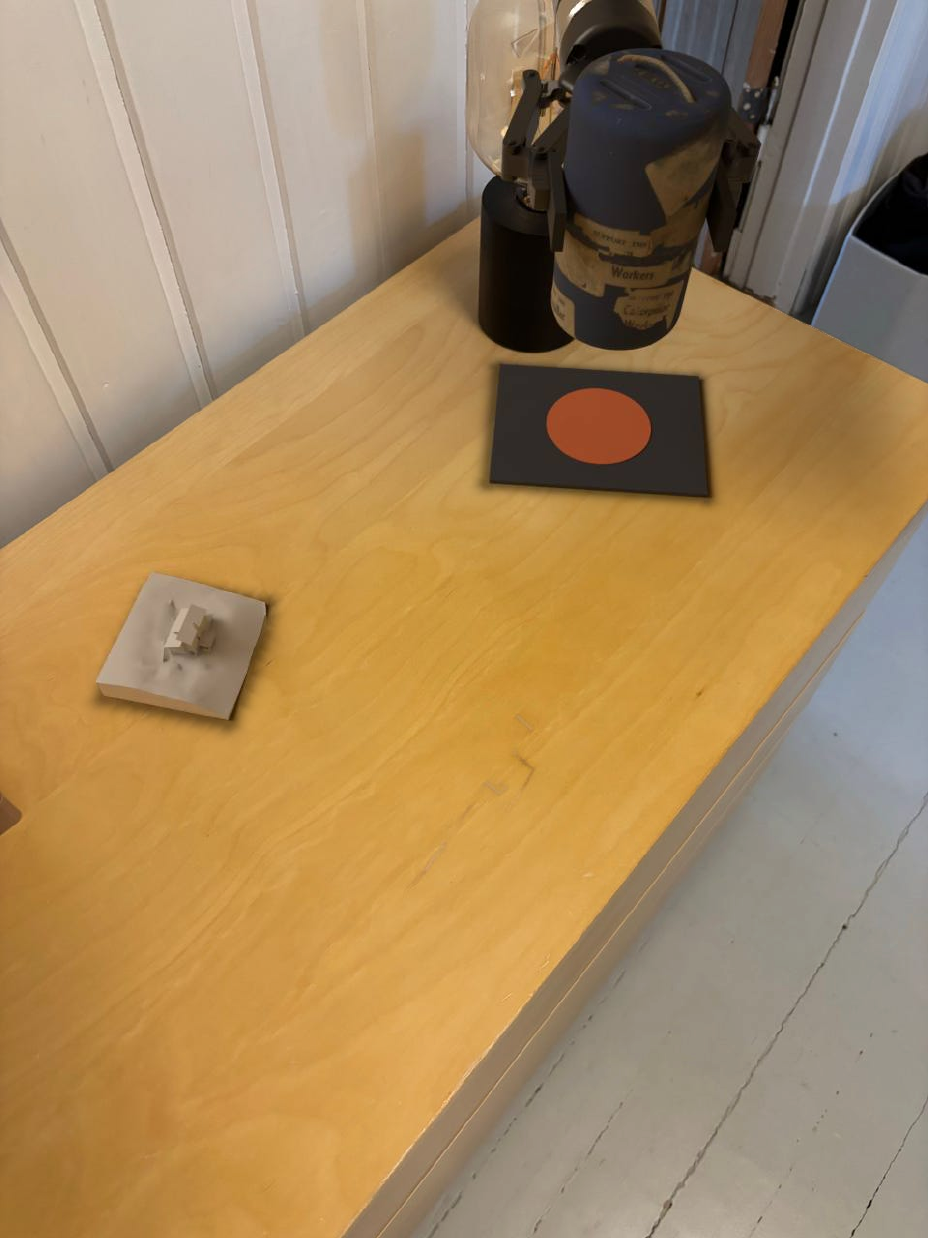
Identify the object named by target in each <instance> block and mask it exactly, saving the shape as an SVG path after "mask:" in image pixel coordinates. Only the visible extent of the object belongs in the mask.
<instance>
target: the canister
mask: <svg viewBox="0 0 928 1238" xmlns="http://www.w3.org/2000/svg"><path fill="white" fill-rule="evenodd" d="M731 107H733V102H732V92H731V89H730V86H729V84H728V82H727V80H726V79H725V77H724V76H723V74H722V73H721V72H720V71H718V70H717V69H716V68H715V67H713V66H711V64H708V63H707V62H706V61H703V60H701V59H699V58H697V57H694V56H692V55H690V54H686V53H683V52H679V51H676V50H675V51H674V50H670V49H665V48H664V49H655V48H637V49H628V50H622V51H618V52H614V53H610V54H607V55H605V56H602V57H600V58H598V59H596V60H595V61H593V62H592V63H590V64H589V65H588V66H587V67H586V68H585V69H584V70H583V71H582V72H581V74H580V75H579V77H578V78H577V80H576V83H575V85H574V88H573V93H572V99H571V107H570V121H569V131H568V140H567V149H566V155H565V159H564V162H563V164H562V171H563V180H564V189H565V198H566V207H567V219H566V228H565V237H564V246H563V252H554V260H553V273H552V274H553V275H552V286H551V292H550V305H551V306H550V307H551V310H552V313H553V316H554V318H555V320H556V322H557V324H558V326H559V327H560V328H562V330H563V331H564V332H566V333H567V334H568V335H569V336H571V337H572V338H573V339H575V340H577V341H579V342H580V343H583V344H585V345H586V346H589V347H592V348H596V349H601V350H605V351H615V352H616V351H617V352H618V351H620V352H621V351H622V352H623V351H624V352H625V351H635V350H639V349H642V348H643V349H644V348H647V347H650V346H652V345H654V344H656V343H658V342H660V341H661V340H662V339H663V338H665V337H666V336H667V335H668V334H669V333H671V332H672V330H673V329H674V327H675V326H676V324H677V323H678V321H679V318H680V316H681V313H682V309H683V305H684V302H685V298H686V293H687V290H688V284H689V281H690V277H691V274H692V271H693V265H694V263H695V257H696V253H697V250H698V245H699V242H700V241H699V240H700V237H701V233H702V230H703V227H704V225H705V223H706V214H707V210H708V206H709V201H710V197H711V193H712V189H713V186H714V182H715V177H716V173H717V169H718V164H719V160H720V156H721V152H722V148H723V144H724V140H725V136H726V132H727V128H728V123H729V119H730V114H731Z"/></svg>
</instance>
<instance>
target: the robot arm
mask: <svg viewBox="0 0 928 1238" xmlns="http://www.w3.org/2000/svg"><path fill="white" fill-rule="evenodd" d="M551 4H552V5H551V6H552V11H553V12H552V13H553V19H554V25H555V26H554V27H555V32H556V33H555V34H556V44H557V54H558V62H559V71H560V75H559V77H558V78H557V79H555V80H554V79H553V80H551V79H550V80H548V79H546V78H542V79H541V74H540V72H539V71H538V70H536V69H533V68H530V69H525V70H523V71H522V73H521V87H520V89H521V90H520V99H519V100H518V103H517V106H516V108H515V110H514V113H513V116H512V117H511V119H510V121H509V124H508V127H507V129H506V131H505V134H504V136H503V139H502V141H501V142H502V143H501V160H500V161H501V164H500V179H501V180H502V181H504V182H508V183H511V182H512V183H513V182H515V181H517V180H518V179H519V178H522V179H524V180H526V181H527V187H526V189H527V190H526V194H527V196H528V197H529V201H530V202H529V204H530V207H531V208H532V209H533V211H546V214H547V224H548V235H549V247H550V252H551V253H555V252H563V246H564V237H565V228H566V219H567V207H566V198H565V189H564V180H563V171H562V164H563V162H564V159H565V155H566V149H567V140H568V131H569V121H570V107H571V99H572V93H573V88H574V85H575V83H576V80H577V78H578V77H579V75H580V74H581V72H582V71H583V70H584V69H585V68H586V67H587V66H588V65H589V64H590V63H592V62H593V61H595V60H596V59H598V58H600V57H602V56H605V55H607V54H610V53H614V52H618V51H622V50H628V49H637V48H655V49H664V50H665V48H664V43H663V40H662V36H661V33H660V28H659V23H658V19H657V15H656V12H655V7H654V3H653V0H551ZM553 102H557V104H558V105H559V107H561V108H562V110H561V111H560V113H558V115H557V116H556V117H555V118H554V119H553V120H552V121H551V122H550V123H549V124H548V125H547V127H546V128H545V130H543V131H542V133H541V134H540V135H539V136H538V137H537V138H536V139H535V137H536V134H537V132H538V130H539V127H540V119H541V118H543V117H544V118H545V117H546V115H547V109H549V108H550V107H551V105H552V103H553ZM534 139H535V140H534ZM761 148H762V142H761V140H760V139H759V138H758V137H757V136H756V134H755V133H754V132H753V131H752V130H751V128H750V127H749V126H748V125H747V122H745V120H744V119H743V118H742V116H740V115H739V113H738V111H736V109H735V108H734V107H733V106H732V107H731V114H730V119H729V123H728V128H727V132H726V136H725V140H724V144H723V148H722V152H721V156H720V160H719V164H718V169H717V173H716V177H715V182H714V186H713V189H712V193H711V197H710V201H709V206H708V210H707V214H706V219H705V221H706V224H707V227H708V233H709V235H710V236H709V237H710V240H711V244H712V249H713V252H714V253H727V251H728V247H729V244H730V240H731V238H732V233H733V230H734V226H735V222H736V219H737V216H738V212H737V207H738V203H739V200H740V196H741V193H742V190H743V184H748V183H750V182H752V180H753V176H754V172H755V170H756V166H757V162H758V159H759V155H760V151H761Z"/></svg>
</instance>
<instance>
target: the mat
mask: <svg viewBox="0 0 928 1238" xmlns="http://www.w3.org/2000/svg"><path fill="white" fill-rule="evenodd" d="M498 368H499V369H498V377H497V378H498V380H497V392H496V401H495V411H494V424H493V435H492V447H491V458H490V469H489V479H488V480H489V482H488V483H489V484H501V485H515V486H530V487H545V488H558V489H559V488H561V489H573V490H574V489H576V490H587V491H589V490H590V491H605V492H617V493H619V492H621V493H633V494H634V493H635V494H649V495H661V496H662V495H663V496H665V495H666V496H676V497H677V496H679V497H691V498H693V497H695V498H708V496H709V491H708V480H707V479H708V478H707V465H706V464H707V463H706V453H705V440H704V439H705V438H704V427H703V426H704V425H703V415H702V413H703V412H702V401H701V389H700V387H701V386H700V376H699V375H686V374H669V373H668V374H667V373H653V372H637V371H622V370H621V371H620V370H606V369H588V368H576V367H575V368H574V367H559V366H558V367H555V366H541V365H538V366H537V365H527V364H526V365H524V364H511V363H509V364H508V363H499V365H498Z"/></svg>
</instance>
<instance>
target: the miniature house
mask: <svg viewBox="0 0 928 1238" xmlns="http://www.w3.org/2000/svg"><path fill="white" fill-rule="evenodd" d="M266 615H267V608H266V602H265V601H262V600H259V599H256V598H252V597H249V596H246V595H243V594H239V593H237V592H233V591H228V590H224V589H221V588H218V587H215V586H211V585H208V584H204V583H200V582H197V581H193V580H189V579H186V578H185V579H184V578H181V577H178V576H177V577H176V576H173V575H167V574H162V573H157V572H151V571H150V574H149V576H148V578H147V579H146V581H145V582H144V584H143V586H142V588H141V590H140V591H139V593H138V596H137V598H136V599H135V602H134V604H133V605H132V608H131V610H130V612H129V614H128V616H127V618H126V619H125V622H124V624H123V626H122V628H121V630H120V631H119V634H118V636H117V638H116V640H115V642H114V645H113V646H112V649H111V650H110V652H109V654H108V656H107V658H106V660H105V662H104V664H103V667H102V668H101V670H100V672H99V673H98V675H97V678H96V679H95V681H94V683H95V685H96V687H98V689H99V690H100V692H101V693H102V695H103V696H105V697H109V698H114V699H120V700H125V701H129V702H135V703H140V704H144V705H151V706H155V707H161V708H164V709H165V708H166V709H169V710H170V709H171V710H175V711H179V712H187V713H191V714H196V715H200V716H206V717H211V718H216V719H222V720H227V721H230V717H231V714H232V712H233V710H234V707H235V704H236V701H237V699H238V696H239V694H240V692H241V689H242V686H243V683H244V681H245V678H246V675H247V673H248V670H249V667H250V663H251V661H252V657H253V654H254V651H255V648H256V647H257V644H258V641H259V638H260V635H261V632H262V629H263V625H264V621H265V617H266ZM266 621H267V618H266Z"/></svg>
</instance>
